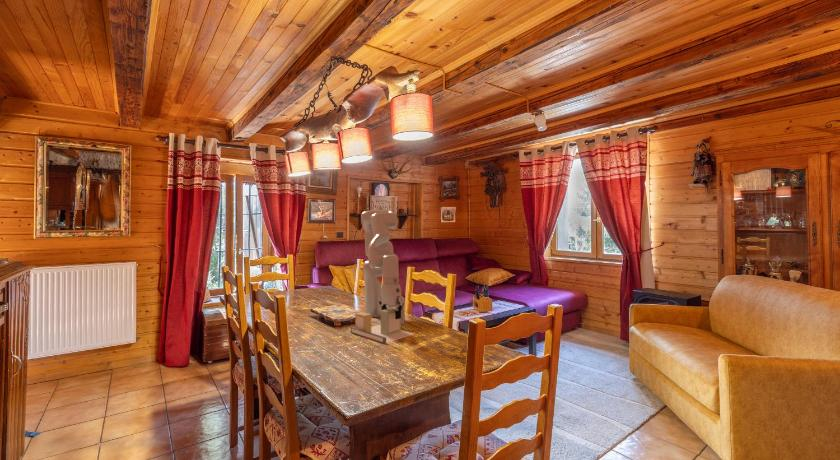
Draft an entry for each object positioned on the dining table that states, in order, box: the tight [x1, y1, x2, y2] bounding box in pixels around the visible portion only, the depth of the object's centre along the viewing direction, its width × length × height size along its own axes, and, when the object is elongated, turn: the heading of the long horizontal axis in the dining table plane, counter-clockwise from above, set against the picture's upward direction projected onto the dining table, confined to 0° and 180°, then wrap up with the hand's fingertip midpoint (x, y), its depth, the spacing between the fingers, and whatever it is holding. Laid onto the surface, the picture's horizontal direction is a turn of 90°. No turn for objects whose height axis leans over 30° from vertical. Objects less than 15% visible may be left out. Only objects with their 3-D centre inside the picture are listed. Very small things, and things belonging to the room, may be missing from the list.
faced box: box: [354, 311, 372, 333], centre depth 188 cm, size 4×7×9 cm, turn 47°
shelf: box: [350, 323, 415, 345], centre depth 187 cm, size 19×24×4 cm
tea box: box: [380, 307, 402, 335], centre depth 188 cm, size 5×9×11 cm, turn 137°
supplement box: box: [386, 296, 406, 325], centre depth 205 cm, size 9×9×15 cm
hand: (391, 317), depth 187 cm, fingers open, 9 cm apart
